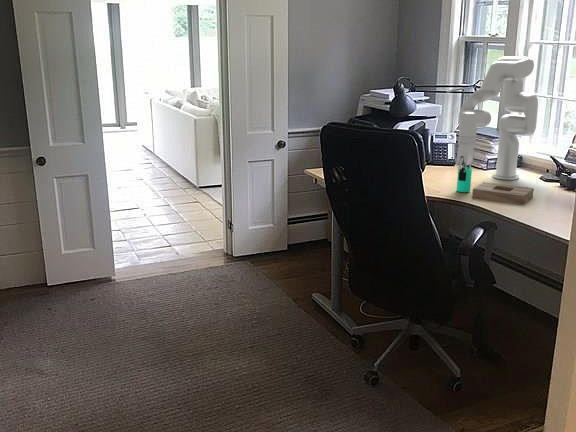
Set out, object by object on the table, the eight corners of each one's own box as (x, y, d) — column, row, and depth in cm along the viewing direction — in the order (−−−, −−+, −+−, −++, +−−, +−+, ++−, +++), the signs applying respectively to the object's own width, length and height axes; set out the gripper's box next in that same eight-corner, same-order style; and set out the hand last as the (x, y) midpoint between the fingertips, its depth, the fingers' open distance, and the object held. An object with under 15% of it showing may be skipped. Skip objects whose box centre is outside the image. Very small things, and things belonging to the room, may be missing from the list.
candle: (460, 192, 277) (462, 166, 273) (454, 189, 282) (455, 163, 279) (472, 191, 278) (474, 165, 274) (465, 188, 284) (467, 163, 280)
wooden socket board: (483, 190, 282) (484, 181, 281) (532, 197, 270) (533, 188, 269) (472, 197, 270) (472, 188, 269) (523, 204, 258) (524, 195, 257)
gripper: (465, 136, 282) (462, 174, 287) (452, 141, 269) (449, 182, 274) (481, 137, 278) (478, 176, 283) (469, 143, 264) (466, 184, 270)
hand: (464, 178), depth 278 cm, fingers closed on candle, 4 cm apart
